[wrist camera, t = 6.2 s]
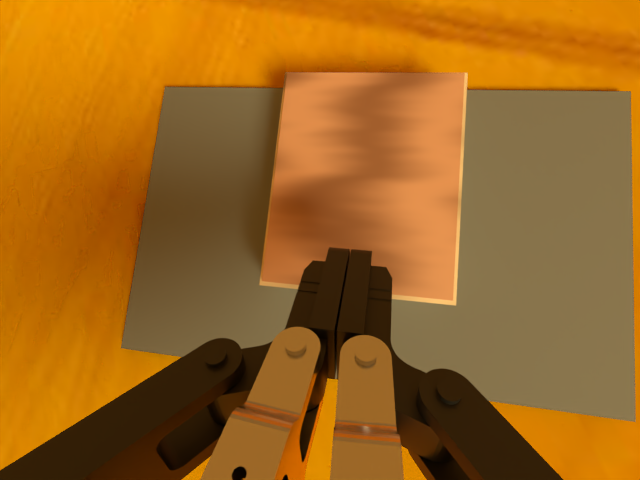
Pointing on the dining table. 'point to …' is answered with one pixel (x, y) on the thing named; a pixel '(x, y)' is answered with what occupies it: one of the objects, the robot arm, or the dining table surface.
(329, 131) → the tan wooden block
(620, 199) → the mat
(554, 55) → the dining table surface
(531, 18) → the dining table surface
